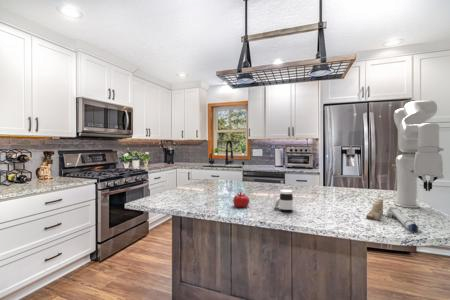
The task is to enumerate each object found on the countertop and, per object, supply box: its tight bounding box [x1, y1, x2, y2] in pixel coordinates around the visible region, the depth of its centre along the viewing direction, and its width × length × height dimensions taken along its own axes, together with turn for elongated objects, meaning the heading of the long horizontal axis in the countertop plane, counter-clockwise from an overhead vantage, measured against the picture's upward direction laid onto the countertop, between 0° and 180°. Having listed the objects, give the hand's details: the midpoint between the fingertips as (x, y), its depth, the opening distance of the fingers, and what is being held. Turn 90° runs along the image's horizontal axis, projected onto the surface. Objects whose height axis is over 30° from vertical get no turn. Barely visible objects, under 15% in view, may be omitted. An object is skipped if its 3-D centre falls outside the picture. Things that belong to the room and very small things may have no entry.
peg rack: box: [365, 198, 384, 221], centre depth 128 cm, size 16×6×8 cm, turn 140°
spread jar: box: [273, 189, 294, 213], centre depth 141 cm, size 12×11×12 cm
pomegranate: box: [232, 191, 250, 208], centre depth 150 cm, size 10×10×9 cm
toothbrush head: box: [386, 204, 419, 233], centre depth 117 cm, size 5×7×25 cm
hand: (427, 190), depth 110 cm, fingers closed
